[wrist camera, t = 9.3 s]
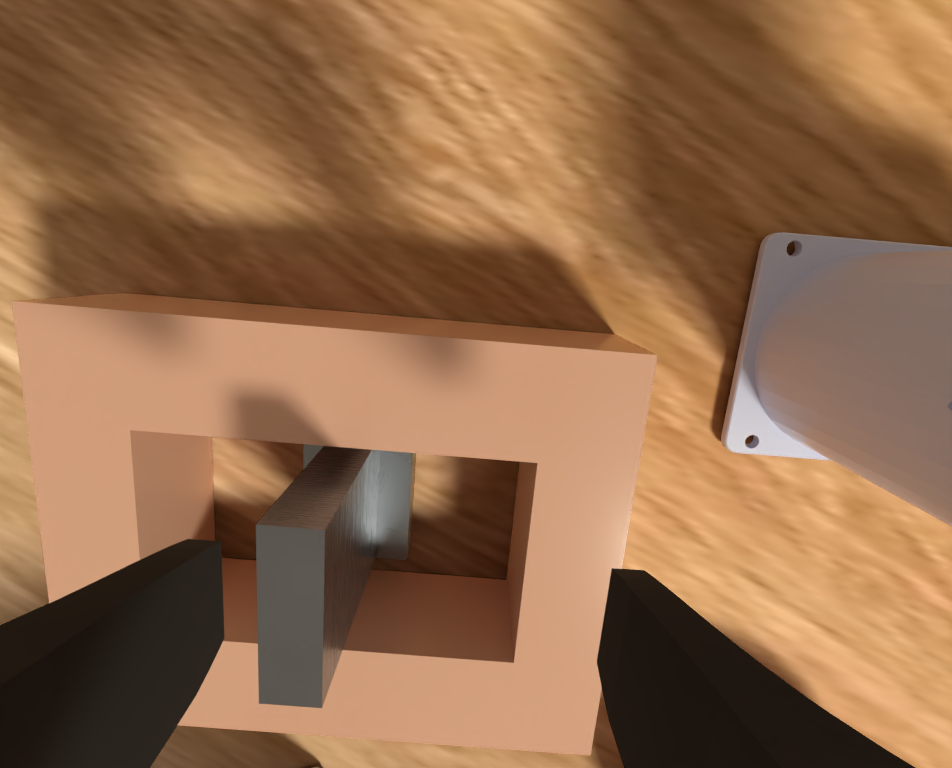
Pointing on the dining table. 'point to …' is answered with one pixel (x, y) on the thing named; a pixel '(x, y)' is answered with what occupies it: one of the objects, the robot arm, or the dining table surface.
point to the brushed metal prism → (324, 563)
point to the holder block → (363, 427)
